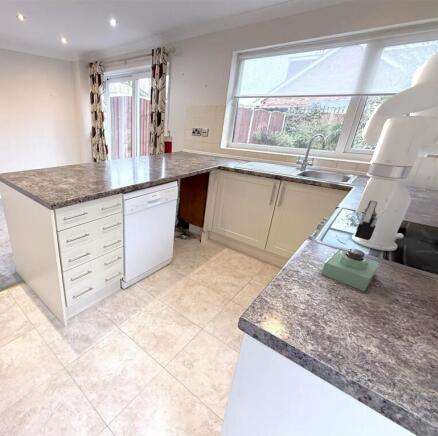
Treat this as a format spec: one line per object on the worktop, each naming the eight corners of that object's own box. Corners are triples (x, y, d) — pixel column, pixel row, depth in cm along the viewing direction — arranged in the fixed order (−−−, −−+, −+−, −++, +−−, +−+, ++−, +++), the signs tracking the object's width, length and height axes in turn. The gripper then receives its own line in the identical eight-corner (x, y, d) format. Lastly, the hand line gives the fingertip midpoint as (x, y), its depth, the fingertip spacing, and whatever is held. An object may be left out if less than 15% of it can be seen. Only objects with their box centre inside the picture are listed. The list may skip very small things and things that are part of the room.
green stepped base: (334, 260, 79) (340, 243, 76) (374, 274, 71) (382, 257, 69) (321, 273, 71) (327, 256, 69) (364, 291, 64) (372, 272, 62)
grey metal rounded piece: (348, 253, 72) (350, 247, 71) (363, 258, 69) (366, 252, 68) (344, 257, 70) (347, 251, 69) (360, 262, 67) (363, 256, 66)
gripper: (375, 165, 67) (353, 226, 74) (361, 172, 58) (337, 240, 66) (413, 169, 62) (385, 234, 69) (404, 178, 53) (373, 252, 60)
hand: (362, 237), depth 67 cm, fingers closed
